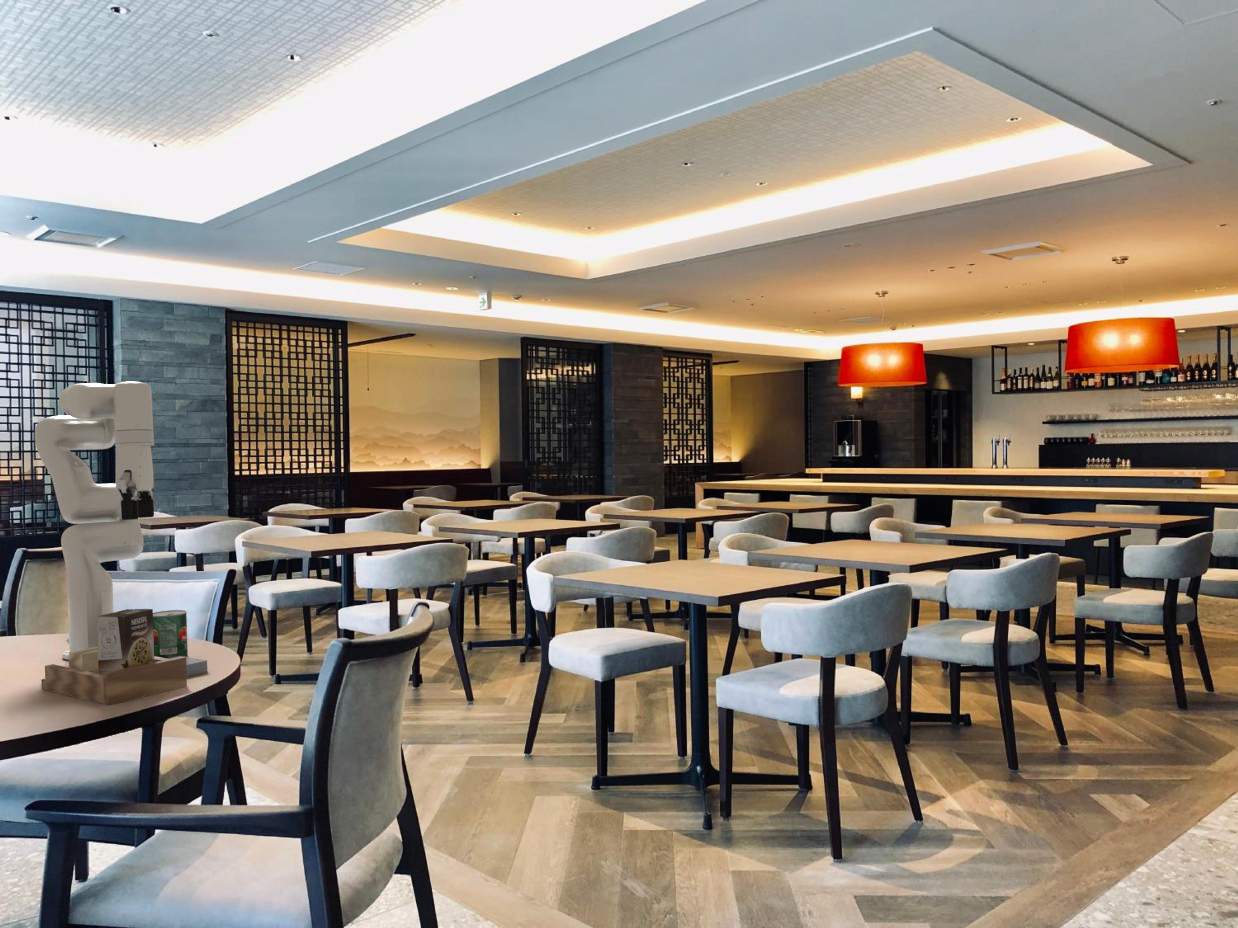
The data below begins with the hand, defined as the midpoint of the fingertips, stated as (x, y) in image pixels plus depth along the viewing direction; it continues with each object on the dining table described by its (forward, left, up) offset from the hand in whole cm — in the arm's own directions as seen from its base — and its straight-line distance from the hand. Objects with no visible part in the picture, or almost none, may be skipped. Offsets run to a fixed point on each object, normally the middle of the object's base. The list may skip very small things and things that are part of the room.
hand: (138, 518), depth 210 cm
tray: (+5, -9, -34) cm, 36 cm away
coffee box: (+10, -9, -34) cm, 37 cm away
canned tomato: (-9, +12, -34) cm, 37 cm away
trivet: (+5, +5, -34) cm, 35 cm away
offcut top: (-2, -9, -31) cm, 32 cm away
